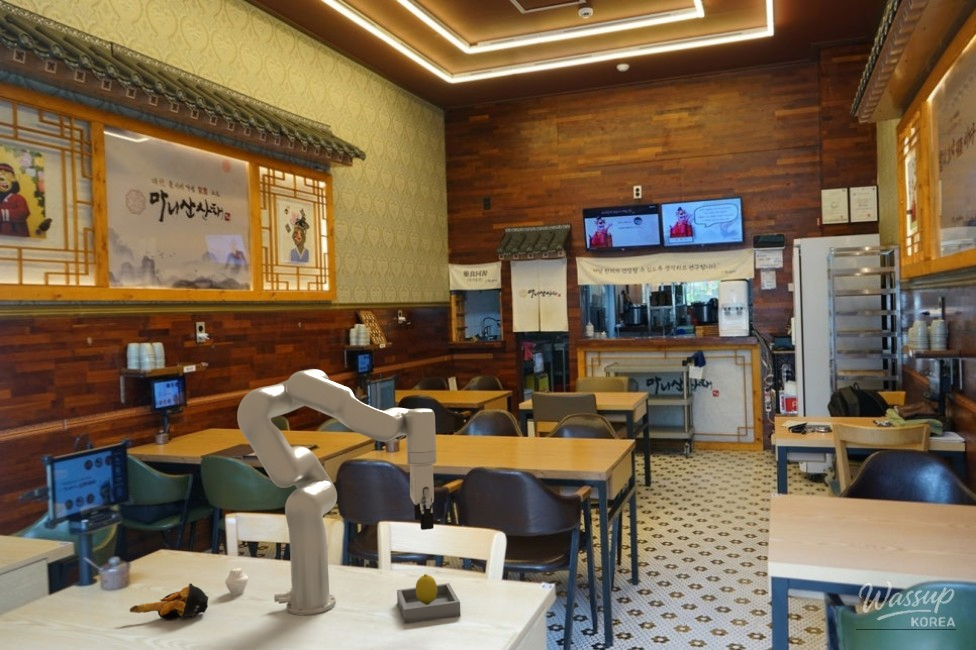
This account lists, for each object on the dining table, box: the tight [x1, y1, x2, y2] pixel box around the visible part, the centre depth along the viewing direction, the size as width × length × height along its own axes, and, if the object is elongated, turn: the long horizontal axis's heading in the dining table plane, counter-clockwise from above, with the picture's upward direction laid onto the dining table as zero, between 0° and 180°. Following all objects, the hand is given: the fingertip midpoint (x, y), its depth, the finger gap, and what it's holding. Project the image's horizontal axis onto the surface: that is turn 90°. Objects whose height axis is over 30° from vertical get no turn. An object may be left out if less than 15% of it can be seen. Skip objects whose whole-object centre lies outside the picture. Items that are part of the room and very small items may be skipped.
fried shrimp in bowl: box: [129, 582, 209, 621], centre depth 189 cm, size 9×11×18 cm
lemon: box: [415, 573, 438, 605], centre depth 188 cm, size 6×6×8 cm
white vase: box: [224, 567, 249, 595], centre depth 206 cm, size 6×6×7 cm
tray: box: [396, 582, 462, 625], centre depth 188 cm, size 14×14×4 cm
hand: (424, 524), depth 188 cm, fingers open, 9 cm apart
